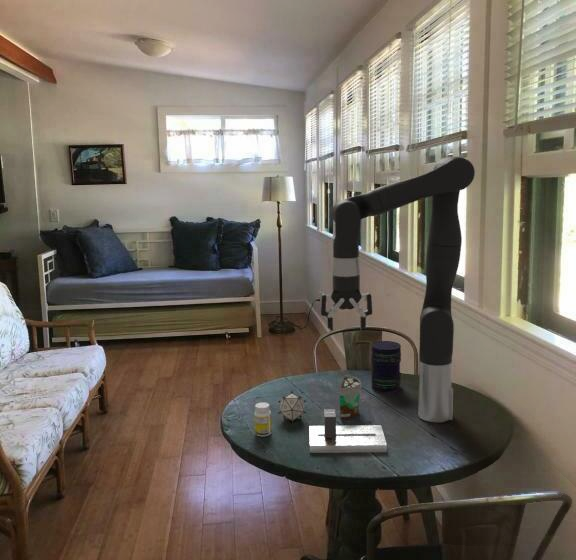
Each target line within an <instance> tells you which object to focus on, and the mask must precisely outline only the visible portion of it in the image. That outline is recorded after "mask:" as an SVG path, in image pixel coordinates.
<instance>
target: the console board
mask: <svg viewBox="0 0 576 560" xmlns="http://www.w3.org/2000/svg"><path fill="white" fill-rule="evenodd" d="M308 430H309V453H310V454H316V453H317V454H318V453H319V454H320V453H322V454H325V453H326V454H327V453H328V454H330V453H333V454H335V453H338V454H339V453H341V454H342V453H344V454H346V453H348V454H349V453H350V454H351V453H387V452H388V444H387V440H386V438H385V434H384V431H383V428H382V425H381V424H380V425H378V424H377V425H376V424H375V425H374V424H373V425H372V424H371V425H369V424H367V425H363V424H362V425H356V424H355V425H336V438H325V434H324V425H309V428H308Z"/></svg>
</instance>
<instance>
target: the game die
mask: <svg viewBox="0 0 576 560" xmlns="http://www.w3.org/2000/svg"><path fill="white" fill-rule="evenodd" d="M277 402H278V403H279V412H277V415H280V414H281V415H282V416H283V418H284V419H285V418H287V419H289V420H290V421H291V424H294V421H295V420H297V419H298V418H302V415H303V414H307V411H305V403H306V402H307V400H306V399H305V400H303V399H302V396H301V395H300V396H297V395H296V394H294V392H293V390H291V391H290V394H288V395H287V396H282V400H278V401H277Z"/></svg>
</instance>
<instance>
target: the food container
mask: <svg viewBox="0 0 576 560" xmlns="http://www.w3.org/2000/svg"><path fill="white" fill-rule="evenodd" d="M362 391H363V385H362V382H361V380H360V379H359V378H358V377H356V376H353V375H347V374H346V375H345V374H344V375H343V382H342V384H341V387H339V412H340V413H339V414H340V418H339V419H340V420H349V419H354V418H356V417H357V416H359V412H360V411H359V410H360V409H359V408H360V395H361V392H362Z"/></svg>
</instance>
